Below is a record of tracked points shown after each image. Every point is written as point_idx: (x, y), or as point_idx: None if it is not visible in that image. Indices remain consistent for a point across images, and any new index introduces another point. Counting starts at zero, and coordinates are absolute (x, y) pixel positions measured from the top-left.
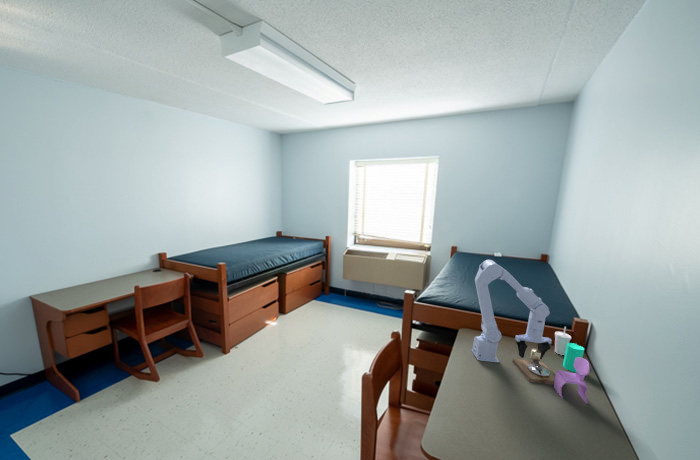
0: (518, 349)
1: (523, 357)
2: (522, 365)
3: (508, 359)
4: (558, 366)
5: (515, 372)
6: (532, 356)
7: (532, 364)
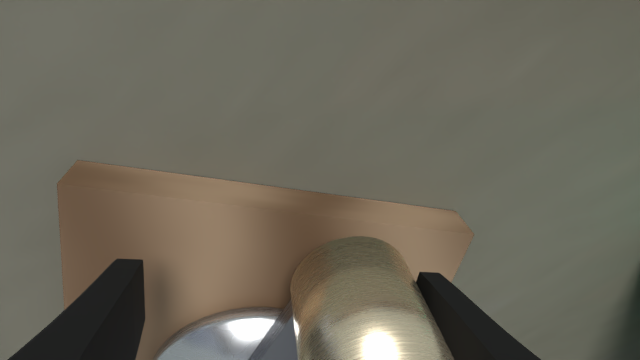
0: (48, 328)
1: (141, 330)
2: None
3: (44, 107)
4: (619, 217)
5: (9, 336)
6: (296, 342)
7: (246, 335)
